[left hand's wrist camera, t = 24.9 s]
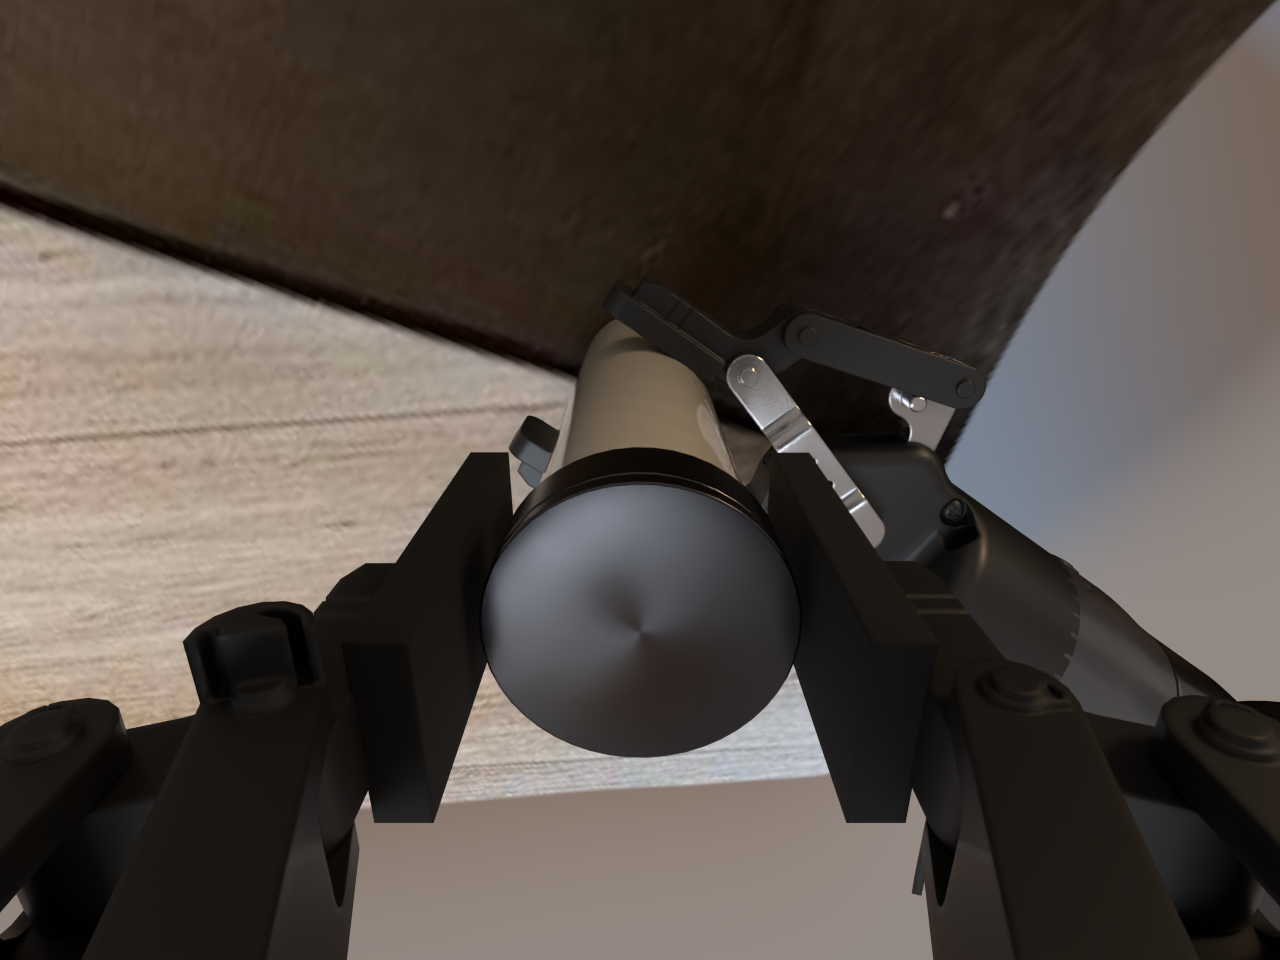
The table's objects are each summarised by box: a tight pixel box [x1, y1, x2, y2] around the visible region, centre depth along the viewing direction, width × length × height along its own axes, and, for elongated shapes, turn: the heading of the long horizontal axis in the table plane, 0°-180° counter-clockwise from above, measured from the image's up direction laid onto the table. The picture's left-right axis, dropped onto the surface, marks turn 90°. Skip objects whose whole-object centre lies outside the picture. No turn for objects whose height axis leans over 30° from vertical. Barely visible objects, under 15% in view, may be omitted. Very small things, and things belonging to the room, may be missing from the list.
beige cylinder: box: [538, 319, 742, 485], centre depth 19 cm, size 4×4×17 cm
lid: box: [479, 447, 802, 758], centre depth 11 cm, size 5×5×2 cm
